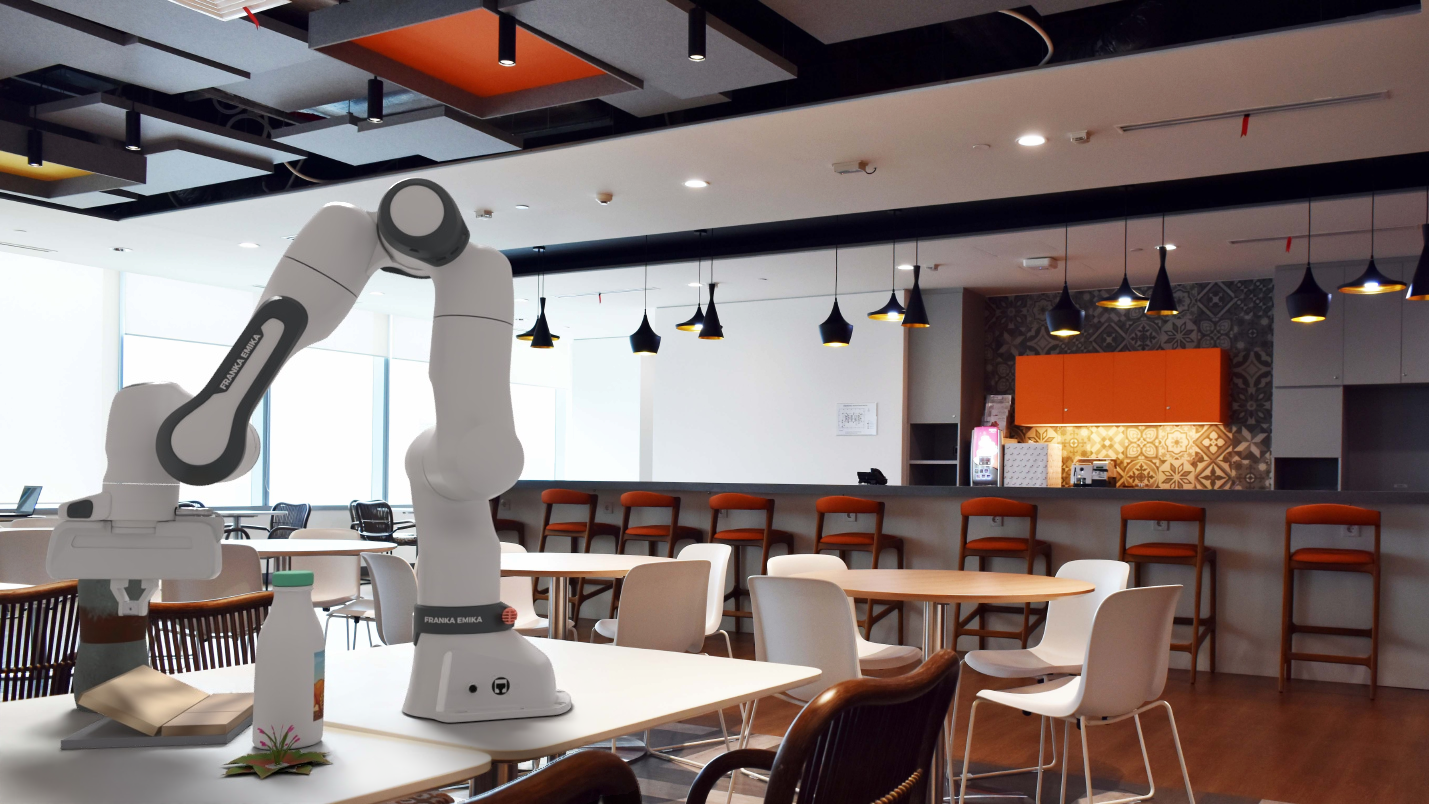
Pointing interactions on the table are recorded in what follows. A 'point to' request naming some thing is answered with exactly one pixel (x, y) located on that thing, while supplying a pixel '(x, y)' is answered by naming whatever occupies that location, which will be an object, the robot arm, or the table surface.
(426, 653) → the robot arm
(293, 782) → the table surface
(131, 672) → the plank
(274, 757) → the green plant with flowers
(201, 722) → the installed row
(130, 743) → the underlay
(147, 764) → the table surface
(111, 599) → the vodka
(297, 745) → the milk bottle
